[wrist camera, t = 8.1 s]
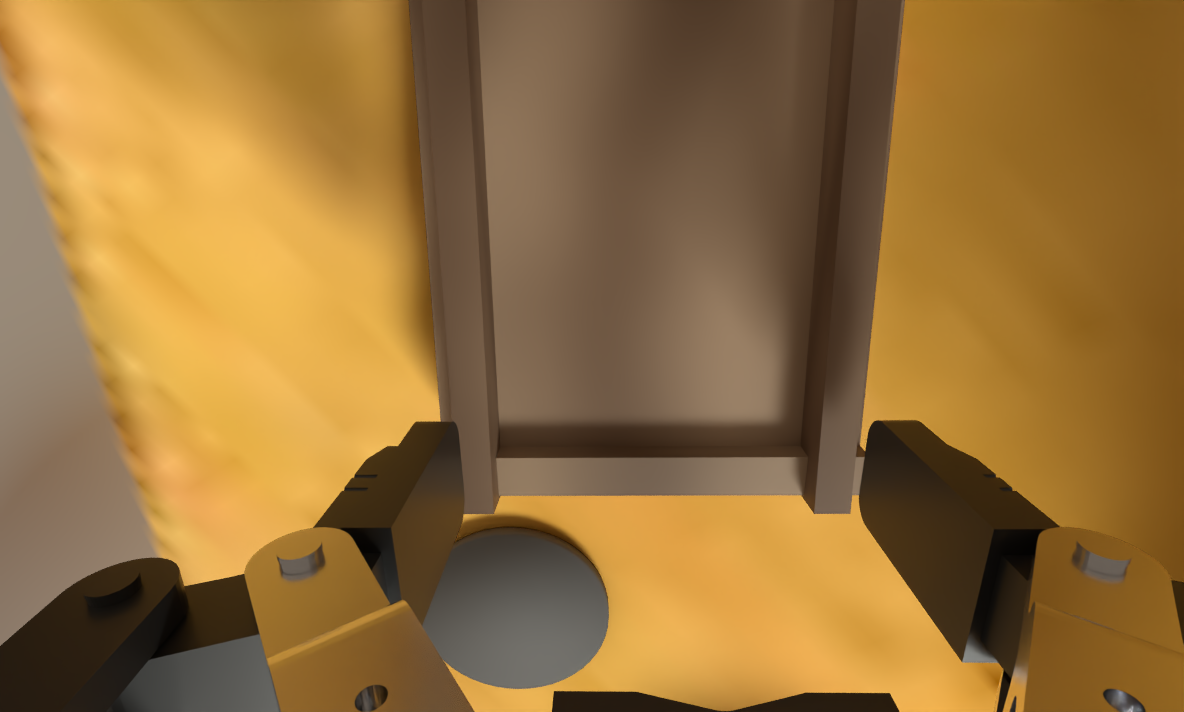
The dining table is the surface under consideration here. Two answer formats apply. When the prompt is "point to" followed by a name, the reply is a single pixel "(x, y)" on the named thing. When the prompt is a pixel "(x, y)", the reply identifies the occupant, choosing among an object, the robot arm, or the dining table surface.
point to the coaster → (517, 609)
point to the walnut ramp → (655, 240)
